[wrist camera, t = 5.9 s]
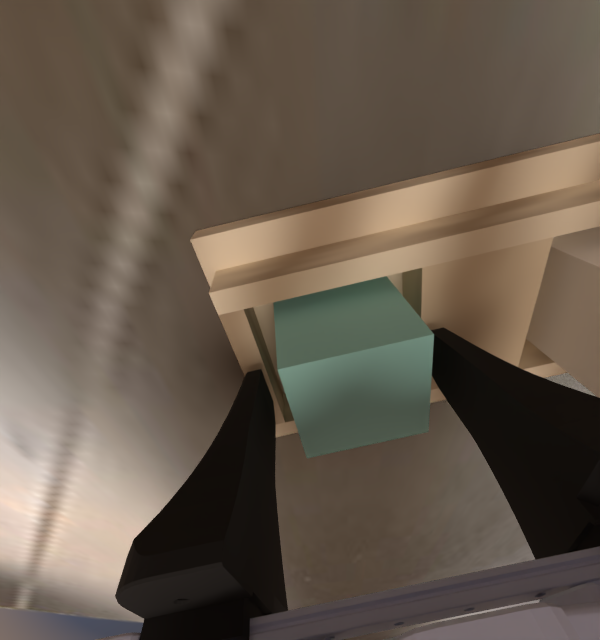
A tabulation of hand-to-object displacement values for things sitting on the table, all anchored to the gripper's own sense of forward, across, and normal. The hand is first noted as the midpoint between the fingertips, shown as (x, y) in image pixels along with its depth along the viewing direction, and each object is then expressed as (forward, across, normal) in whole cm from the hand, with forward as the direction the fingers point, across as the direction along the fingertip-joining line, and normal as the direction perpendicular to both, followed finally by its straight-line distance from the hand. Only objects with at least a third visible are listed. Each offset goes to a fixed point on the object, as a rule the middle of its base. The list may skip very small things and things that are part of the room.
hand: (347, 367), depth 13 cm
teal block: (+3, 0, 0) cm, 3 cm away
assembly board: (+4, -6, 0) cm, 7 cm away
